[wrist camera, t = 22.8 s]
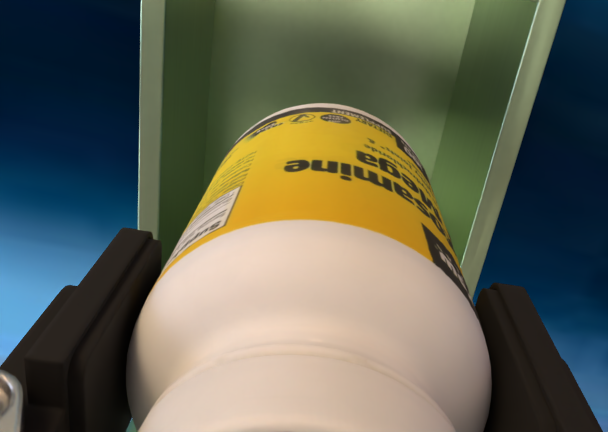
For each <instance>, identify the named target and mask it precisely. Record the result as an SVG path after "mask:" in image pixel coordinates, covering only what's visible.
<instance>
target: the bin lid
mask: <svg viewBox="0 0 608 432" xmlns="http://www.w3.org/2000/svg"><path fill="white" fill-rule="evenodd" d="M126 432H137V429H136V427H135V424H134V422H133V419H132V420H131V422H130V423H129V425H128V428H127V430H126Z"/></svg>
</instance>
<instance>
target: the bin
mask: <svg viewBox="0 0 608 432" xmlns="http://www.w3.org/2000/svg"><path fill="white" fill-rule="evenodd" d="M565 2H566V0H141V17H140V94H139V172H138V230H143V231H150V232H152V234H153V239H155V240H161V243H162V261H161V272H162V270H163V268H164V267H165V265H166V263H167V261H168V260H169V258H170V256H171V254H172V253H173V251H174V249H175V247H176V245H177V243H178V242H179V240H180V238H181V236H182V234H183V232H184V231H185V229H186V227H187V225H188V223H189V221H190V220H191V218H192V216H193V214H194V212H195V211H196V209H197V207H198V205H199V203H200V201H201V200H202V198H203V196H204V194H205V192H206V191H207V189H208V187H209V185H210V183H211V181H212V179H213V177H214V175H215V174H216V172H217V170H218V168H219V166H220V165H221V163H222V161H223V159H224V157H225V156H226V154H227V152H228V151H229V150H230V148H231V147H232V146H233V145H234V144H235V142H236V141H237V140H238V139H239V138H240V137H241V136H242V135H243V134H244V133H245V132H246V131H247V130H249V129H250V128H251V127H252V126H254V125H255V124H257V123H258V122H259V121H261V120H263V119H264V118H266V117H268V116H270V115H272V114H274V113H276V112H278V111H281V110H283V109H286V108H290V107H294V106H299V105H305V104H314V103H328V104H339V105H344V106H349V107H352V108H355V109H359V110H361V111H364V112H366V113H368V114H370V115H373V116H375V117H377V118H378V119H380V120H382V121H383V122H385V123H386V124H388V125H389V126H390V127H392V128H393V129H394V130H395V131H396V132H398V133H399V134H400V135H401V136H402V137H403V138H404V139H405V141H406V142H407V143H408V144H409V145H410V147H411V148H412V149H413V151H414V152H415V154H416V155H417V157H418V159H419V161H420V162H421V164H422V166H423V168H424V169H425V172H426V174H427V176H428V179H429V181H430V184H431V187H432V190H433V192H434V196H435V198H436V201H437V204H438V207H439V210H440V212H441V215H442V218H443V221H444V224H445V226H446V229H447V231H448V233H449V235H450V238H451V242H452V245H453V248H454V251H455V253H456V256H457V258H458V262H459V265H460V267H461V269H462V274H463V277H464V279H465V282H466V285H467V287H468V290H469V294H470V296H471V299H473V296H474V292H475V289H476V286H477V283H478V280H479V276H480V273H481V270H482V267H483V264H484V261H485V257H486V254H487V251H488V248H489V245H490V241H491V238H492V235H493V232H494V229H495V225H496V222H497V219H498V216H499V213H500V210H501V206H502V203H503V200H504V197H505V194H506V190H507V187H508V184H509V181H510V178H511V175H512V171H513V168H514V165H515V162H516V159H517V155H518V152H519V149H520V146H521V143H522V139H523V136H524V133H525V130H526V127H527V124H528V120H529V117H530V114H531V111H532V108H533V104H534V101H535V98H536V95H537V92H538V89H539V85H540V82H541V79H542V76H543V73H544V69H545V66H546V63H547V60H548V57H549V53H550V50H551V47H552V44H553V41H554V38H555V34H556V31H557V28H558V25H559V22H560V18H561V15H562V12H563V9H564V6H565Z"/></svg>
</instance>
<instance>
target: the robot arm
mask: <svg viewBox="0 0 608 432" xmlns="http://www.w3.org/2000/svg"><path fill="white" fill-rule="evenodd" d="M161 261H162V243H161V240H155V239H153V234H152V232H150V231H143V230H136V229H130V228H122V229H121V230H120V231H119V233H118V234H117V235H116V237H115V238H114V239H113V240H112V242H111V243H110V244H109V246H108V247H107V248H106V250H105V251H104V252H103V254H102V255H101V256H100V258H99V259H98V260H97V262H96V263H95V264H94V265H93V267H92V268H91V269H90V271H89V272H88V273H87V275H86V276H85V277H84V279H83V280H82V281H81V283H80V284H79V285H78V286H72V285H68V286H65V287H64V288H63V289H62V290H61V291H60V292H59V294H58V295H57V296H56V297H55V299H54V300H53V301H52V302H51V304H50V305H49V306H48V307H47V309H46V310H45V311H44V312H43V314H42V315H41V316H40V317H39V319H38V320H37V321H36V322H35V324H34V325H33V326H32V327H31V329H30V330H29V331H28V332H27V334H26V335H25V336H24V337H23V339H22V340H21V341H20V342H19V344H18V345H17V346H16V347H15V349H14V350H13V351H12V352H11V354H10V355H9V356H8V357H7V359H6V360H5V362H4V363H3V364H2V365H1V366H0V432H126V430H127V428H128V425H129V423H130V421H131V419H132V415H131V411H130V407H129V404H128V398H127V391H126V362H127V352H128V347H129V344H130V340H131V336H132V332H133V329H134V326H135V323H136V321H137V319H138V317H139V314H140V311H141V309H142V307H143V305H144V303H145V301H146V299H147V297H148V295H149V293H150V292H151V290H152V288H153V286H154V285H155V283H156V281H157V279H158V278H159V276H160V274H161ZM475 309H476V311H477V313H478V316H479V319H480V322H481V326H482V330H483V334H484V337H485V341H486V345H487V349H488V353H489V359H490V364H491V377H492V392H491V402H490V409H489V415H488V419H487V422H486V425H485V428H484V431H483V432H603V431H602V429H601V427H600V425H599V424H598V422H597V420H596V418H595V416H594V414H593V412H592V410H591V408H590V407H589V405H588V403H587V401H586V399H585V397H584V395H583V393H582V391H581V389H580V388H579V386H578V384H577V382H576V380H575V378H574V376H573V374H572V372H571V371H570V369H569V367H568V365H567V364H566V362H565V361H564V360H563V359H561V357H560V355H559V353H558V351H557V349H556V347H555V345H554V343H553V341H552V339H551V338H550V336H549V334H548V332H547V330H546V328H545V326H544V324H543V322H542V320H541V318H540V316H539V315H538V313H537V311H536V309H535V307H534V305H533V303H532V301H531V299H530V297H529V295H528V293H527V292H526V290H525V288H524V287H520V286H514V285H507V284H500V283H493V284H492V285H491V287H490V289H485V288H483V289H482V290H481V291H480V294H479V296H478V300H477V303H476V306H475Z"/></svg>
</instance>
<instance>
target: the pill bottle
mask: <svg viewBox="0 0 608 432" xmlns="http://www.w3.org/2000/svg"><path fill="white" fill-rule="evenodd" d="M126 391H127V398H128V404H129V407H130V411H131V415H132V418H133V422H134V424H135V427H136V429H137V432H483V431H484V428H485V425H486V422H487V419H488V415H489V409H490V402H491V392H492V377H491V364H490V359H489V353H488V349H487V345H486V341H485V337H484V334H483V330H482V326H481V322H480V319H479V316H478V313H477V311H476V309H475V306H474V304H473V301H472V299H471V296H470V294H469V290H468V287H467V285H466V282H465V279H464V277H463V274H462V269H461V267H460V265H459V262H458V258H457V256H456V253H455V251H454V248H453V245H452V242H451V238H450V235H449V233H448V231H447V229H446V226H445V224H444V221H443V218H442V215H441V212H440V210H439V207H438V204H437V201H436V198H435V196H434V192H433V190H432V187H431V184H430V181H429V179H428V176H427V174H426V172H425V169H424V168H423V166H422V164H421V162H420V161H419V159H418V157H417V155H416V154H415V152H414V151H413V149H412V148H411V147H410V145H409V144H408V143H407V142H406V141H405V139H404V138H403V137H402V136H401V135H400V134H399V133H398V132H396V131H395V130H394V129H393V128H392V127H390V126H389V125H388V124H386V123H385V122H383V121H382V120H380V119H378V118H377V117H375V116H373V115H370V114H368V113H366V112H364V111H361V110H359V109H355V108H352V107H349V106H344V105H339V104H328V103H314V104H305V105H299V106H294V107H290V108H286V109H283V110H281V111H278V112H276V113H274V114H272V115H270V116H268V117H266V118H264V119H263V120H261V121H259V122H258V123H257V124H255V125H254V126H252V127H251V128H250V129H249V130H247V131H246V132H245V133H244V134H243V135H242V136H241V137H240V138H239V139H238V140H237V141H236V142H235V144H234V145H233V146H232V147H231V148H230V150H229V151H228V152H227V154H226V156H225V157H224V159H223V161H222V163H221V165H220V166H219V168H218V170H217V172H216V174H215V175H214V177H213V179H212V181H211V183H210V185H209V187H208V189H207V191H206V192H205V194H204V196H203V198H202V200H201V201H200V203H199V205H198V207H197V209H196V211H195V212H194V214H193V216H192V218H191V220H190V221H189V223H188V225H187V227H186V229H185V231H184V232H183V234H182V236H181V238H180V240H179V242H178V243H177V245H176V247H175V249H174V251H173V253H172V254H171V256H170V258H169V260H168V261H167V263H166V265H165V267H164V268H163V270H162V272H161V274H160V276H159V278H158V279H157V281H156V283H155V285H154V286H153V288H152V290H151V292H150V293H149V295H148V297H147V299H146V301H145V303H144V305H143V307H142V309H141V311H140V314H139V317H138V319H137V321H136V323H135V326H134V329H133V332H132V336H131V340H130V344H129V347H128V352H127V362H126Z"/></svg>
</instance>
